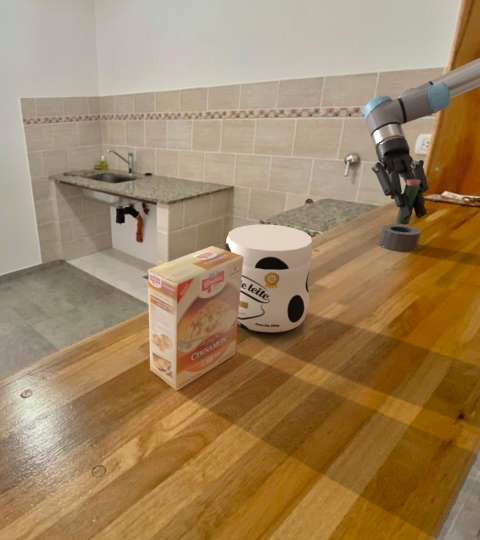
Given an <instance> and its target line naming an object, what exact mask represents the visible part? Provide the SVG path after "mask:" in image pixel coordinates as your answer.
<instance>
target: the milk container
mask: <svg viewBox="0 0 480 540" xmlns="http://www.w3.org/2000/svg"><path fill="white" fill-rule="evenodd" d="M224 250H226V251H230V252H233V253H236V254H238V255H241V256H243V257H244V258H243V267H242V278H241V290H240V301H239V313H238V324H237V328H240V329H242V330H245V331H250V332H253V333H256V334H270V335H274V334H280V333H287V332H289V331H292V330H295V329H297V328H298V327H299V326H300V325H301V324H302V323H303V322H304V321H305V318H306V316H307V314H308V311H309V307H310V292H309V286H308V282H309V281H308V279H309V273H310V269H311V265H312V260H311V259H312V255H313V241H312V236H311V235H309V234H308V233H307V232H305V231H303V230H300V229H297V228H295V227H290V226H285V225H277V224H247V225H243V226H238V227H235V228H233V229H232V230H229V232H228V234H227V237H226V242H225V249H224Z"/></svg>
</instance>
